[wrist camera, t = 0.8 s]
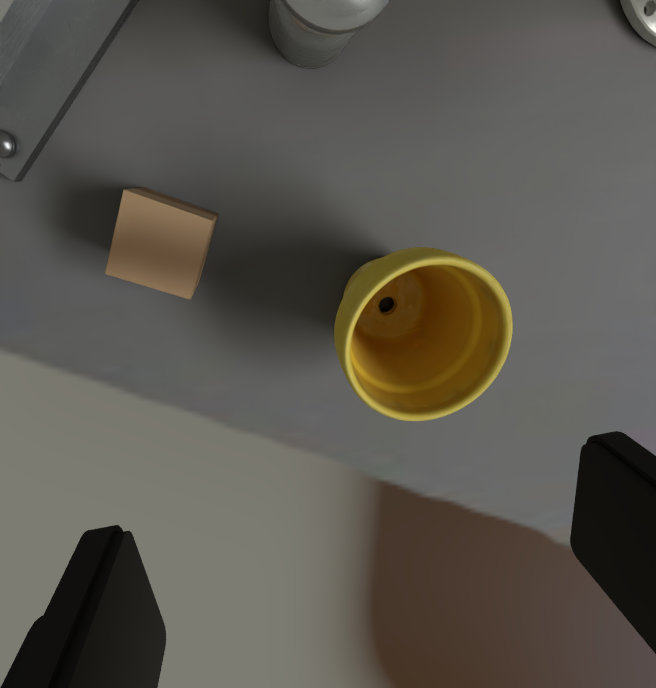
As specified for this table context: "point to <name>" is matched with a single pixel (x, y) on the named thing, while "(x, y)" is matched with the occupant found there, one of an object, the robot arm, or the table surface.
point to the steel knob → (318, 27)
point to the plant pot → (422, 333)
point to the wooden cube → (160, 241)
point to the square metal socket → (47, 68)
